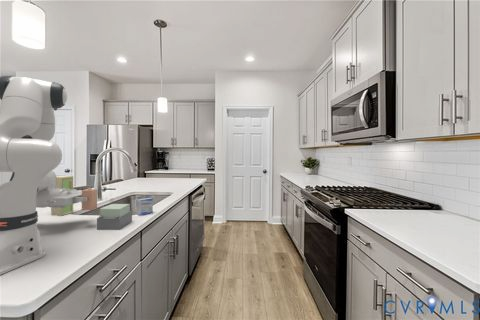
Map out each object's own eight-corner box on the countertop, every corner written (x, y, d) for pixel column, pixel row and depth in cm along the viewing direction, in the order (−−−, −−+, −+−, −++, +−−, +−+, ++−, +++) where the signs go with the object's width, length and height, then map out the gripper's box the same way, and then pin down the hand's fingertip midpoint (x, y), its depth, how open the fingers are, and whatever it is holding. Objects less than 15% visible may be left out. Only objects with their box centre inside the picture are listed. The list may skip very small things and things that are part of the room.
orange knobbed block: (91, 210, 112) (91, 188, 112) (81, 210, 112) (81, 188, 112) (97, 208, 117) (97, 187, 117) (87, 208, 117) (87, 187, 117)
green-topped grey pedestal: (119, 229, 111) (119, 209, 110) (96, 229, 110) (96, 209, 110) (131, 221, 125) (132, 203, 124) (111, 220, 124) (112, 203, 124)
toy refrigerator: (61, 216, 132) (61, 177, 131) (50, 215, 133) (50, 176, 133) (74, 212, 139) (74, 175, 139) (63, 211, 141) (63, 175, 140)
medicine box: (140, 215, 135) (140, 200, 135) (135, 214, 138) (135, 199, 138) (152, 213, 142) (153, 198, 141) (148, 212, 144) (148, 197, 144)
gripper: (44, 194, 104) (77, 194, 104) (74, 188, 124) (102, 188, 125) (44, 209, 104) (77, 209, 104) (74, 201, 124) (102, 201, 125)
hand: (91, 198), depth 115 cm, fingers closed on orange knobbed block, 4 cm apart
